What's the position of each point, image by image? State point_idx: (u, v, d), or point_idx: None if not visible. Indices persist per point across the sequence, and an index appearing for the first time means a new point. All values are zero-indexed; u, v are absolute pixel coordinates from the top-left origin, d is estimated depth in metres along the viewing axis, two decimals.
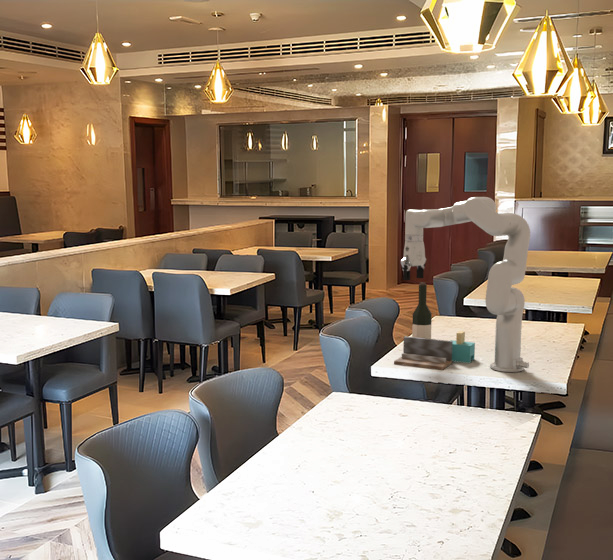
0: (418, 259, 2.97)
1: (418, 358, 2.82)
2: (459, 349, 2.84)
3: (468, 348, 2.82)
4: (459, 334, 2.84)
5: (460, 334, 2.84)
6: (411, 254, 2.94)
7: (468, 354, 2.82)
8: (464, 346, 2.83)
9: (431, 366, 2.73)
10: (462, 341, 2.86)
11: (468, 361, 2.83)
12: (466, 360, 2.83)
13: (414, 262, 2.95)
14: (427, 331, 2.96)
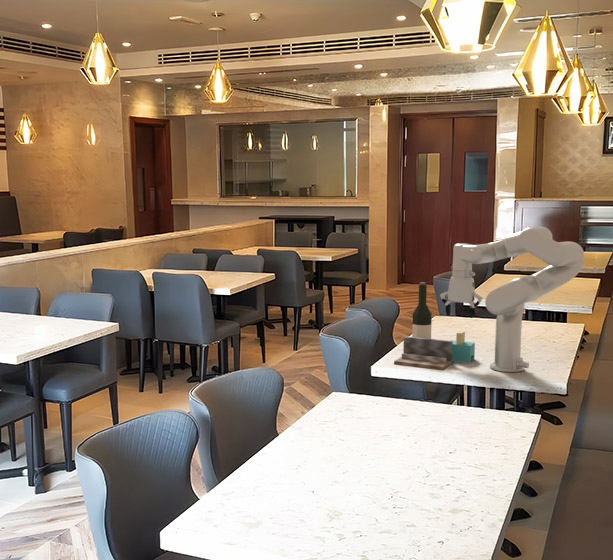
0: None
1: (418, 358, 2.82)
2: (459, 349, 2.84)
3: (468, 348, 2.82)
4: (459, 334, 2.84)
5: (460, 334, 2.84)
6: None
7: (468, 354, 2.82)
8: (464, 346, 2.83)
9: (431, 366, 2.73)
10: (462, 341, 2.86)
11: (468, 361, 2.83)
12: (466, 360, 2.83)
13: None
14: (427, 331, 2.96)
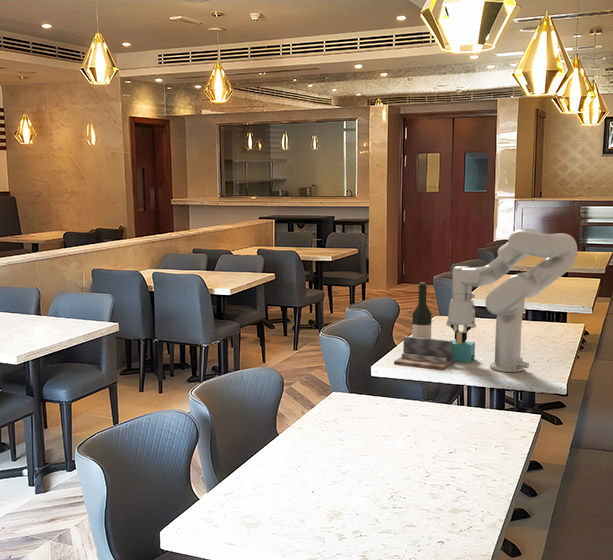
0: None
1: (418, 358, 2.82)
2: (459, 349, 2.84)
3: (468, 348, 2.82)
4: (459, 334, 2.84)
5: (460, 334, 2.84)
6: None
7: (468, 354, 2.82)
8: (464, 346, 2.83)
9: (431, 366, 2.73)
10: None
11: (468, 361, 2.83)
12: (466, 360, 2.83)
13: None
14: (427, 331, 2.96)
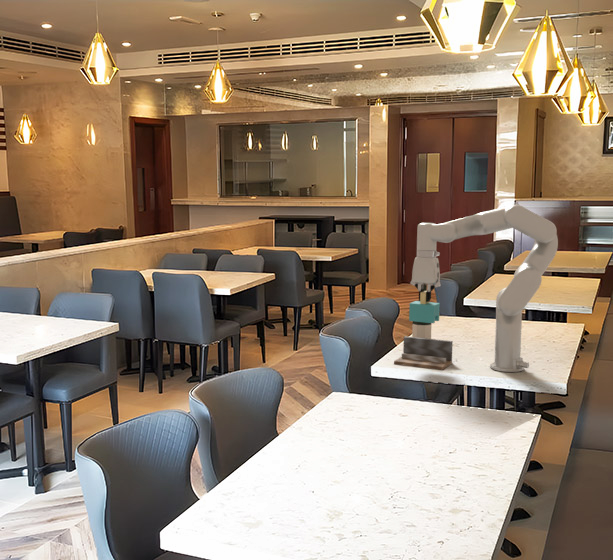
0: None
1: (418, 358, 2.82)
2: (423, 309, 2.74)
3: (432, 308, 2.72)
4: (423, 293, 2.75)
5: (424, 293, 2.74)
6: (439, 270, 2.75)
7: (432, 314, 2.73)
8: (428, 306, 2.73)
9: (431, 366, 2.73)
10: None
11: (432, 321, 2.73)
12: (430, 320, 2.73)
13: None
14: (427, 331, 2.96)
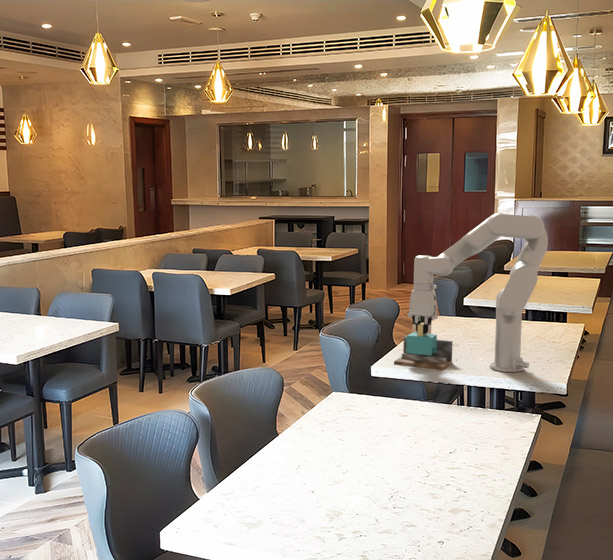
0: None
1: (418, 358, 2.82)
2: (420, 341, 2.75)
3: (429, 340, 2.74)
4: (420, 326, 2.76)
5: (421, 326, 2.76)
6: None
7: (429, 346, 2.74)
8: (425, 338, 2.74)
9: (431, 366, 2.73)
10: None
11: (429, 354, 2.74)
12: (427, 353, 2.74)
13: None
14: None
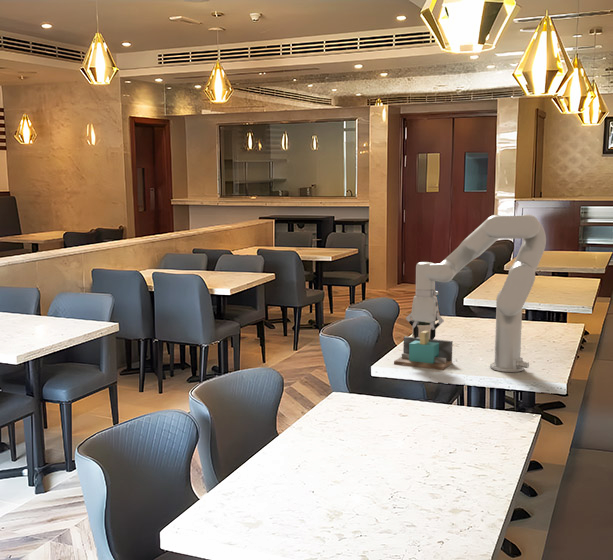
0: None
1: None
2: (422, 349, 2.78)
3: (431, 348, 2.76)
4: (422, 334, 2.78)
5: (423, 334, 2.78)
6: None
7: (431, 354, 2.76)
8: (427, 346, 2.77)
9: (431, 366, 2.73)
10: (426, 341, 2.80)
11: (431, 362, 2.76)
12: (429, 360, 2.77)
13: None
14: None
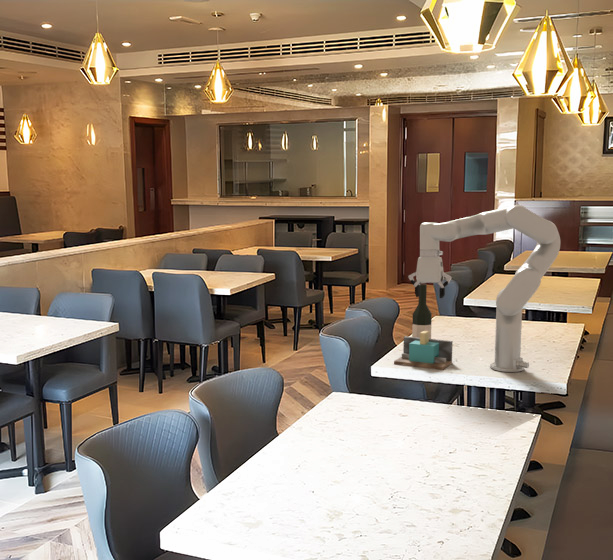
0: None
1: None
2: (422, 349, 2.78)
3: (431, 348, 2.76)
4: (422, 334, 2.78)
5: (423, 334, 2.78)
6: None
7: (431, 354, 2.76)
8: (427, 346, 2.77)
9: (431, 366, 2.73)
10: (426, 341, 2.80)
11: (431, 362, 2.76)
12: (429, 360, 2.77)
13: None
14: None
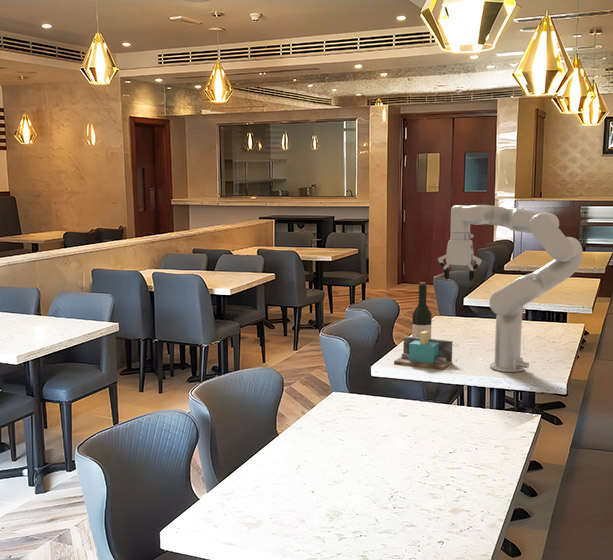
0: None
1: None
2: (422, 349, 2.78)
3: (431, 348, 2.76)
4: (422, 334, 2.78)
5: (423, 334, 2.78)
6: None
7: (431, 354, 2.76)
8: (427, 346, 2.77)
9: (431, 366, 2.73)
10: (426, 341, 2.80)
11: (431, 362, 2.76)
12: (429, 360, 2.77)
13: None
14: None
